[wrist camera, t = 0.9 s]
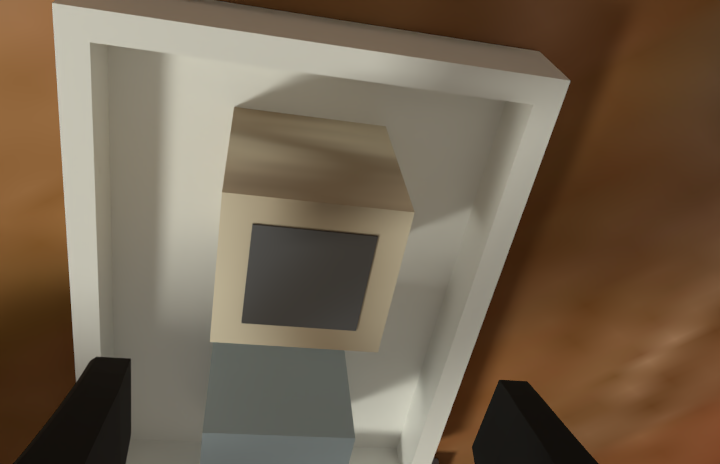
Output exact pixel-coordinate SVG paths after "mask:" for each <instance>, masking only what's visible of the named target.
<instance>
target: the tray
mask: <svg viewBox="0 0 720 464" xmlns="http://www.w3.org/2000/svg"><path fill="white" fill-rule="evenodd" d="M52 10H53V26H54V42H55V58H56V74H57V90H58V105H59V121H60V137H61V153H62V169H63V184H64V200H65V216H66V232H67V248H68V264H69V279H70V295H71V311H72V327H73V343H74V359H75V374H76V382H77V380H78V379H79V377H80V376H81V374H82V373H83V371H84V370H85V368H86V366H87V365H88V363H89V362H90V360H92V359H93V358H95V357H113V358H130V359H131V438H130V443H129V449H128V454H127V459H126V464H200V456H201V444H202V432H203V423H204V415H205V406H206V398H207V390H208V381H209V373H210V364H211V356H212V347H213V342H210V333H211V321H212V308H213V296H214V284H215V272H216V259H217V247H218V235H219V222H220V210H221V198H222V188H223V181H224V174H225V167H226V160H227V153H228V146H229V139H230V132H231V125H232V118H233V111H234V107H239V108H247V109H255V110H263V111H270V112H278V113H286V114H294V115H301V116H309V117H317V118H325V119H332V120H340V121H348V122H356V123H364V124H371V125H379V126H386V129H387V132H388V135H389V138H390V141H391V144H392V147H393V150H394V152H395V155H396V158H397V161H398V164H399V167H400V170H401V173H402V176H403V179H404V182H405V185H406V188H407V191H408V194H409V197H410V200H411V203H412V206H413V209H414V212H415V213H414V217H413V221H412V225H411V228H410V232H409V236H408V240H407V244H406V248H405V251H404V255H403V259H402V263H401V267H400V270H399V274H398V278H397V282H396V286H395V289H394V293H393V297H392V301H391V305H390V308H389V312H388V316H387V320H386V324H385V327H384V331H383V335H382V339H381V343H380V346H379V350H378V352H362V351H346V350H344V351H345V359H346V367H347V375H348V383H349V391H350V399H351V407H352V416H353V424H354V432H355V442H354V445H353V449H352V453H351V457H350V461H349V464H432V461H433V458H434V455H435V453H436V450H437V447H438V444H439V442H440V439H441V436H442V433H443V431H444V428H445V425H446V422H447V420H448V417H449V414H450V411H451V409H452V406H453V403H454V400H455V398H456V395H457V392H458V389H459V387H460V384H461V381H462V378H463V376H464V373H465V370H466V367H467V365H468V362H469V359H470V356H471V354H472V351H473V348H474V345H475V343H476V340H477V337H478V334H479V332H480V329H481V326H482V323H483V321H484V318H485V315H486V312H487V310H488V307H489V304H490V301H491V299H492V296H493V293H494V290H495V288H496V285H497V282H498V279H499V277H500V274H501V271H502V268H503V266H504V263H505V260H506V257H507V255H508V252H509V249H510V246H511V244H512V241H513V238H514V235H515V233H516V230H517V227H518V224H519V222H520V219H521V216H522V213H523V211H524V208H525V205H526V202H527V200H528V197H529V194H530V191H531V188H532V186H533V183H534V180H535V177H536V175H537V172H538V169H539V166H540V164H541V161H542V158H543V155H544V153H545V150H546V147H547V144H548V142H549V139H550V136H551V133H552V131H553V128H554V125H555V122H556V120H557V117H558V114H559V111H560V109H561V106H562V103H563V100H564V98H565V95H566V92H567V89H568V87H569V84H570V80H569V79H568V78H567V77H566V76H565V75H564V74H563V73H562V72H561V71H560V70H559V69H558V68H557V67H556V66H555V65H553V64H552V63H551V62H550V61H549V60H548V59H547V58H546V57H545V56H544V55H543V54H542V53H541V52H540V51H534V50H528V49H521V48H515V47H509V46H502V45H496V44H490V43H483V42H477V41H471V40H464V39H458V38H452V37H445V36H439V35H432V34H426V33H420V32H413V31H407V30H401V29H394V28H388V27H382V26H375V25H369V24H363V23H356V22H350V21H344V20H337V19H331V18H325V17H318V16H312V15H306V14H299V13H293V12H287V11H280V10H274V9H267V8H261V7H255V6H248V5H242V4H236V3H229V2H223V1H217V0H55V1H54V2H52Z"/></svg>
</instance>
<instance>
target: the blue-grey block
mask: <svg viewBox="0 0 720 464" xmlns="http://www.w3.org/2000/svg"><path fill="white" fill-rule="evenodd" d="M354 442H355V432H354V424H353V416H352V407H351V399H350V391H349V383H348V375H347V367H346V359H345V351H344V350H330V349H314V348H299V347H283V346H267V345H251V344H235V343H219V342H213V347H212V356H211V364H210V373H209V381H208V390H207V398H206V406H205V415H204V423H203V432H202V444H201V456H200V464H349V461H350V457H351V453H352V449H353V445H354Z"/></svg>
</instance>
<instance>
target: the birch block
mask: <svg viewBox="0 0 720 464" xmlns="http://www.w3.org/2000/svg"><path fill="white" fill-rule="evenodd" d="M414 213H415V212H414V209H413V206H412V203H411V200H410V197H409V194H408V191H407V188H406V185H405V182H404V179H403V176H402V173H401V170H400V167H399V164H398V161H397V158H396V155H395V152H394V150H393V147H392V144H391V141H390V138H389V135H388V132H387V129H386V126H379V125H371V124H364V123H356V122H348V121H340V120H332V119H325V118H317V117H309V116H301V115H294V114H286V113H278V112H270V111H263V110H255V109H247V108H239V107H234V111H233V118H232V125H231V132H230V139H229V146H228V153H227V160H226V167H225V174H224V181H223V188H222V198H221V210H220V222H219V235H218V247H217V259H216V272H215V284H214V296H213V308H212V321H211V333H210V342H219V343H235V344H251V345H267V346H283V347H299V348H314V349H330V350H346V351H362V352H378V350H379V346H380V343H381V339H382V335H383V331H384V327H385V324H386V320H387V316H388V312H389V308H390V305H391V301H392V297H393V293H394V289H395V286H396V282H397V278H398V274H399V270H400V267H401V263H402V259H403V255H404V251H405V248H406V244H407V240H408V236H409V232H410V228H411V225H412V221H413V217H414Z"/></svg>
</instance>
